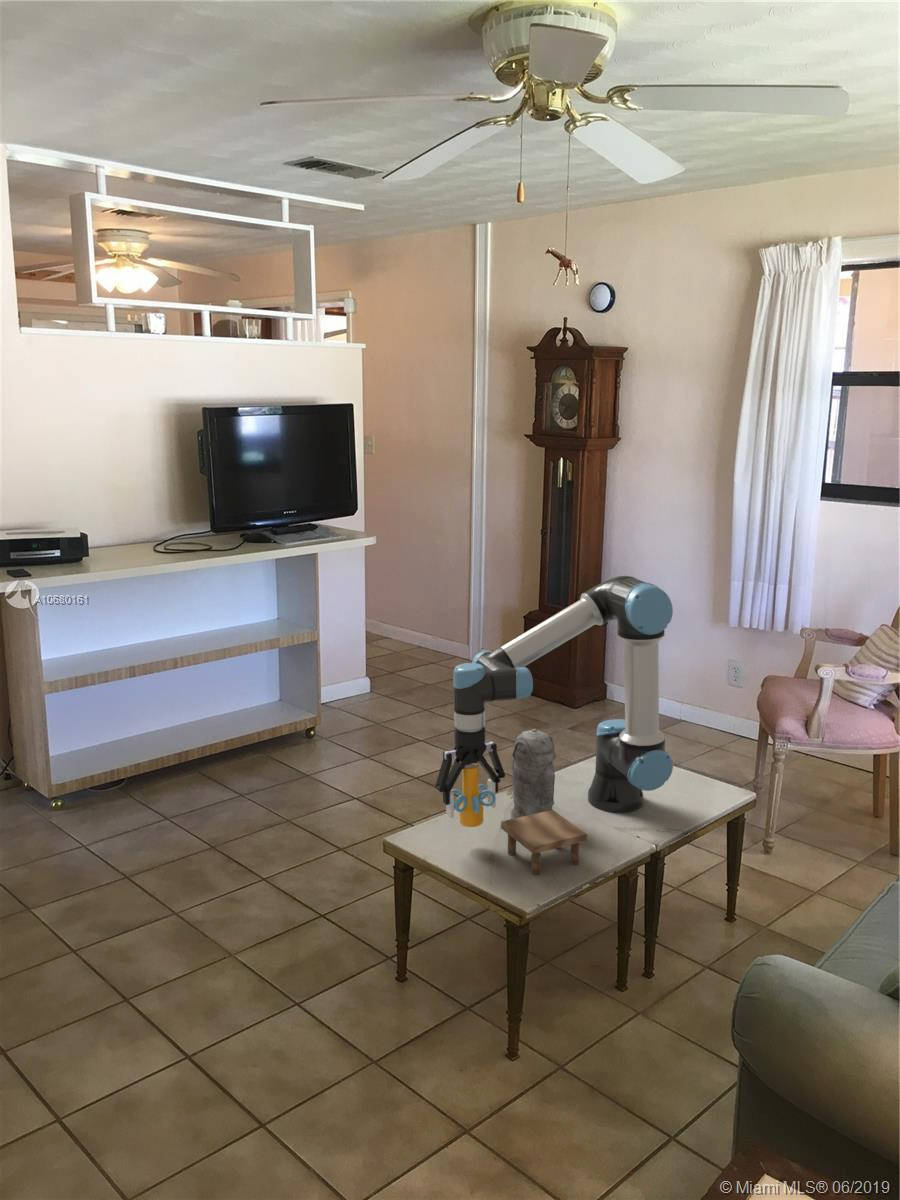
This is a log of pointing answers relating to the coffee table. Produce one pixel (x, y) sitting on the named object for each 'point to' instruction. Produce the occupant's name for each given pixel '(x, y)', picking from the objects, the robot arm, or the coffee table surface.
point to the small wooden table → (543, 835)
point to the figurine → (533, 774)
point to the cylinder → (471, 797)
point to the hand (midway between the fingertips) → (471, 810)
